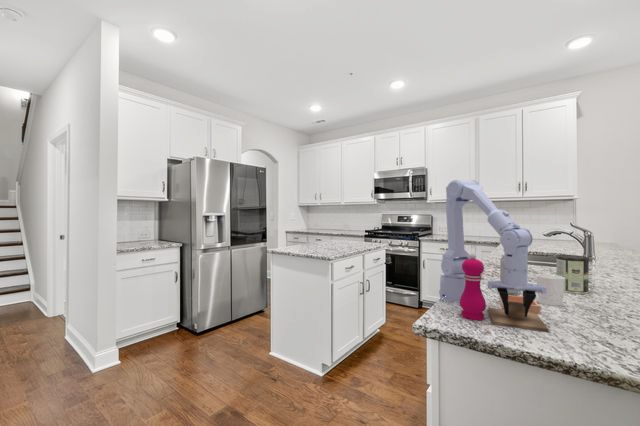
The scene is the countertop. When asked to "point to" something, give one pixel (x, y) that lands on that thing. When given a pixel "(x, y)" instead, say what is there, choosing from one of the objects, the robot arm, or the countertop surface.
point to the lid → (517, 317)
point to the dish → (533, 308)
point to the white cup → (551, 289)
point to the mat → (512, 327)
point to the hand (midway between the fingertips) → (515, 314)
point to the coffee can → (574, 273)
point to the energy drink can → (502, 275)
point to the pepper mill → (472, 290)
